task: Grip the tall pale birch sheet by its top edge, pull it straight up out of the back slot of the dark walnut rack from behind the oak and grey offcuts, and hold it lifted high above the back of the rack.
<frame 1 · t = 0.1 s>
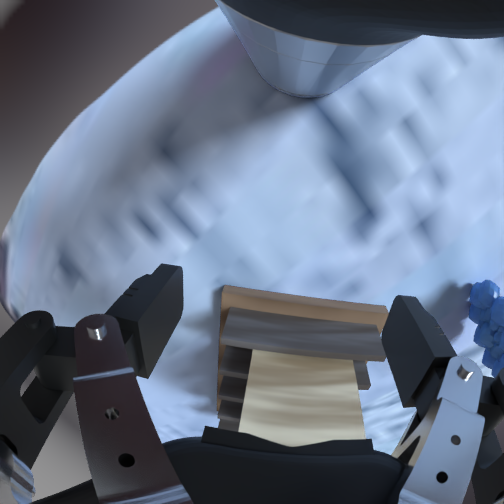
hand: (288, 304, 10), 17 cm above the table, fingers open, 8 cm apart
grapes: (478, 299, 28), on the table
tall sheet: (301, 336, 31), point 1 cm above the table, touching rack
rack: (290, 366, 35), on the table
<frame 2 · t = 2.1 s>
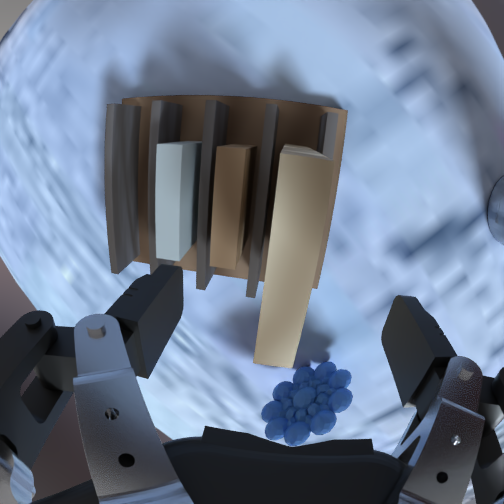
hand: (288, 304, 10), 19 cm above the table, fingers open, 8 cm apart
grapes: (308, 371, 37), on the table
offcut oak: (241, 192, 27), point 1 cm above the table, touching rack
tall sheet: (289, 198, 27), point 1 cm above the table, touching rack
offcut grey: (195, 187, 27), point 1 cm above the table, touching rack
rack: (221, 186, 28), on the table
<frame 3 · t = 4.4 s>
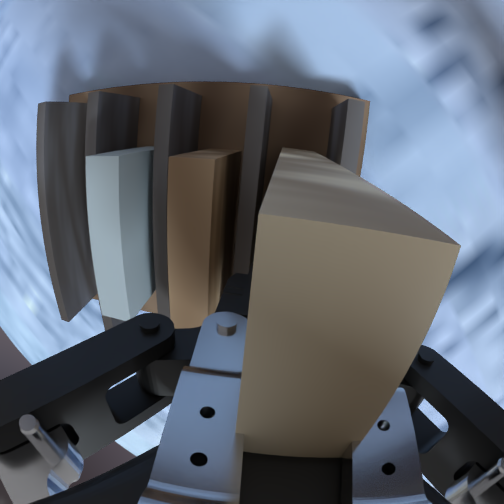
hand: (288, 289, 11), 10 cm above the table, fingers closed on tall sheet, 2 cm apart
offcut oak: (220, 216, 19), point 1 cm above the table, touching rack
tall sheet: (288, 225, 19), point 2 cm above the table, touching gripper
offcut grey: (158, 209, 20), point 1 cm above the table, touching rack
rack: (194, 207, 21), on the table
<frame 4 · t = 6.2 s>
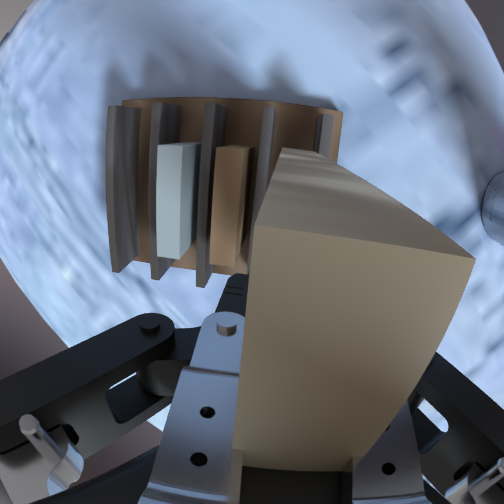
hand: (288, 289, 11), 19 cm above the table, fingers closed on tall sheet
offcut oak: (239, 192, 28), point 1 cm above the table, touching rack
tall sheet: (288, 226, 19), point 11 cm above the table, touching gripper
offcut grey: (194, 187, 28), point 1 cm above the table, touching rack
rack: (220, 187, 29), on the table
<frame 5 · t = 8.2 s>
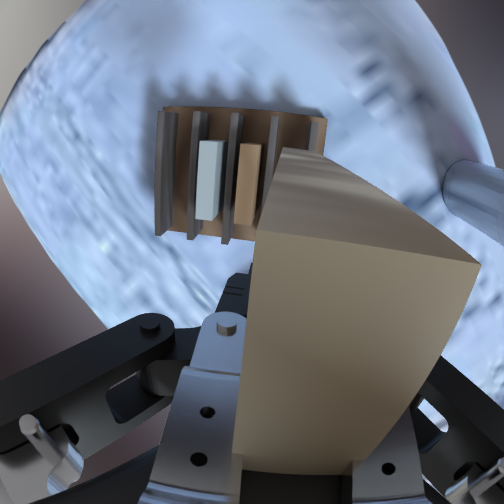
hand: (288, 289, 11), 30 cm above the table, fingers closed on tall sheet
offcut oak: (252, 176, 38), point 1 cm above the table, touching rack
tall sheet: (288, 226, 19), point 22 cm above the table, touching gripper
offcut grey: (219, 173, 38), point 1 cm above the table, touching rack
rack: (237, 173, 39), on the table
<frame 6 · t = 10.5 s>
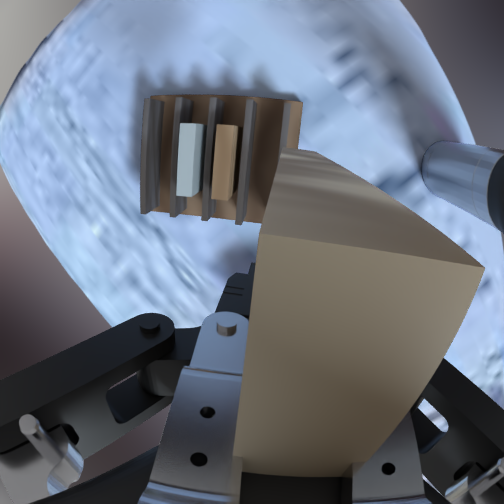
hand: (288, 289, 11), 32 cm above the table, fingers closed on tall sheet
offcut oak: (232, 158, 39), point 1 cm above the table, touching rack
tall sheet: (288, 226, 19), point 24 cm above the table, touching gripper
offcut grey: (201, 155, 39), point 1 cm above the table, touching rack
rack: (219, 156, 41), on the table
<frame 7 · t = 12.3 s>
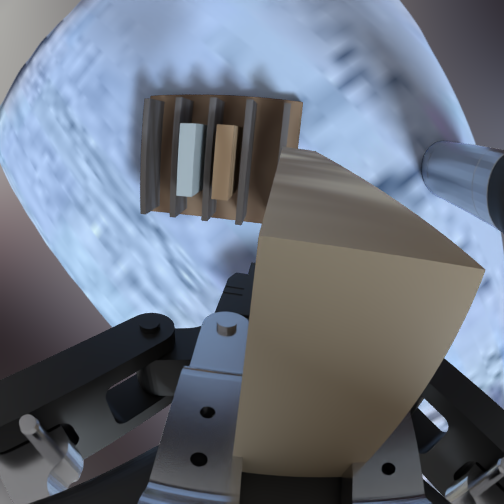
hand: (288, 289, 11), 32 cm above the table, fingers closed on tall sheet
offcut oak: (232, 158, 39), point 1 cm above the table, touching rack
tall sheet: (288, 226, 19), point 24 cm above the table, touching gripper
offcut grey: (201, 155, 39), point 1 cm above the table, touching rack
rack: (219, 156, 41), on the table
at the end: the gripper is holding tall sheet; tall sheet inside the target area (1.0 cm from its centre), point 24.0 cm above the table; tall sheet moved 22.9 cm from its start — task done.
